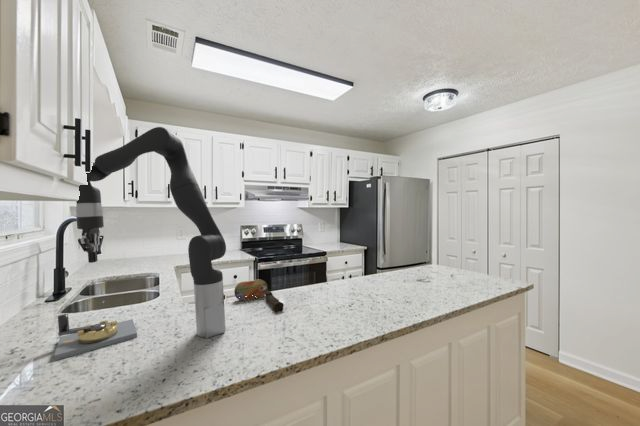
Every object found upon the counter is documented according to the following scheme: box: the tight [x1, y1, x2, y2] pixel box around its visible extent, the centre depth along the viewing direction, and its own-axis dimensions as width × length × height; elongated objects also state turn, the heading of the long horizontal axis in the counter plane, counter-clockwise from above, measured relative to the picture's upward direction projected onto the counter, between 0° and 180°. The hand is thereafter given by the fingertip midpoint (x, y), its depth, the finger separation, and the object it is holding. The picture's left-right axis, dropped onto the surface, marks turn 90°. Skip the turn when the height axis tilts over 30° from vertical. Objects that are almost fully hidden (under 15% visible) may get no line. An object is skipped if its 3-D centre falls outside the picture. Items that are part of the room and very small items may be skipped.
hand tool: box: [264, 290, 284, 313], centre depth 116 cm, size 19×4×5 cm, turn 24°
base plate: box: [53, 319, 138, 361], centre depth 91 cm, size 16×20×2 cm
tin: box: [233, 278, 269, 302], centre depth 126 cm, size 15×3×8 cm, turn 114°
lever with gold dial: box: [57, 313, 118, 344], centre depth 88 cm, size 15×10×8 cm, turn 107°
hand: (93, 262), depth 101 cm, fingers closed
